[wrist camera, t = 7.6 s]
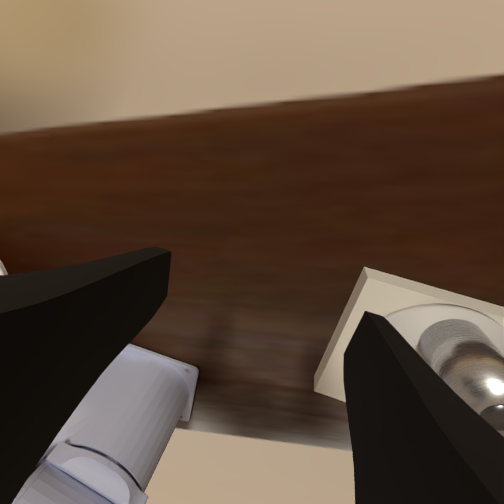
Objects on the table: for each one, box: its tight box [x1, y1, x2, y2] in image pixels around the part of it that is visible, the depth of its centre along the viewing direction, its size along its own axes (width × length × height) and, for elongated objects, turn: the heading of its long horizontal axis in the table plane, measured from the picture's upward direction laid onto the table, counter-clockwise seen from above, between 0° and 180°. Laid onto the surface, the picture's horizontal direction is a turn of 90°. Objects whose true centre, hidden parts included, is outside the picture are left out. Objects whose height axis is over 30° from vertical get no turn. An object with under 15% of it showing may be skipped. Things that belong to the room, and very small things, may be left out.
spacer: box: [419, 319, 504, 437], centre depth 15 cm, size 4×4×5 cm
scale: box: [314, 267, 504, 402], centre depth 19 cm, size 12×11×2 cm
